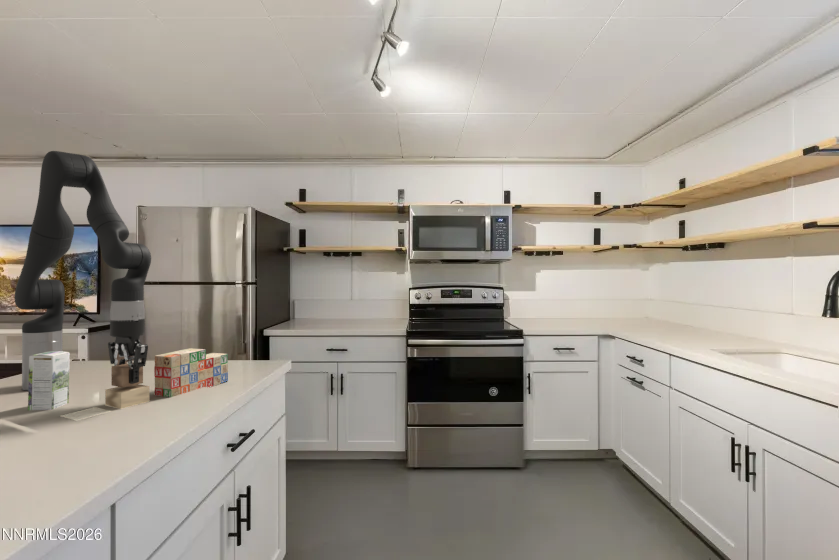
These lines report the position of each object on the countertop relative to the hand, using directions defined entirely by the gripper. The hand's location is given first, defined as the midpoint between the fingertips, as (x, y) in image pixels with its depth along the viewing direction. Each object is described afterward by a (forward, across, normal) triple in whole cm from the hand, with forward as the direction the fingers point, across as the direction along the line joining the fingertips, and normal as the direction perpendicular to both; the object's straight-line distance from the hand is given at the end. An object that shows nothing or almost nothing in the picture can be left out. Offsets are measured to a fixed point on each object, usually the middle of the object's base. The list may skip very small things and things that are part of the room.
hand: (127, 381), depth 109 cm
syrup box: (+7, -15, -10) cm, 19 cm away
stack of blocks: (+7, +1, +19) cm, 20 cm away
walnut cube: (+1, 0, 0) cm, 1 cm away
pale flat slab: (+6, -3, -4) cm, 8 cm away
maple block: (+6, 0, 0) cm, 6 cm away
